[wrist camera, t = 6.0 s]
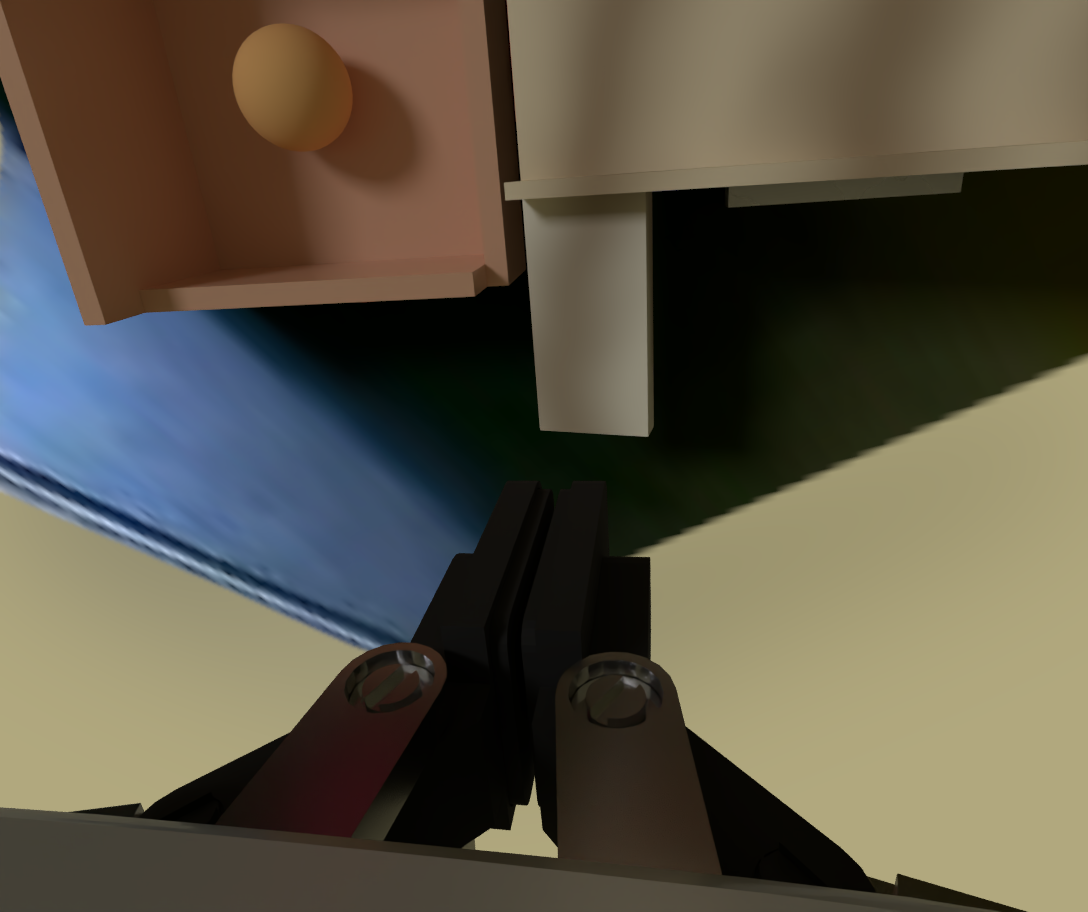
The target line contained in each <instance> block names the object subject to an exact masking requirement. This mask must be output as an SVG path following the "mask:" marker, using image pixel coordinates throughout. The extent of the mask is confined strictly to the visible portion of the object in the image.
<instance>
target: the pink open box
mask: <svg viewBox="0 0 1088 912" xmlns="http://www.w3.org/2000/svg"><path fill="white" fill-rule="evenodd" d="M280 23H286V24H294V25H298V26H302V27H304V28H307V29H309V30H311V31H313V32H314V33H316V34H318V35H319V36H320V37H322V38H323V39H324V40H325V41H326V42H328V43H329V44H330V45H331V46H332V48H333V49H334V50H335V51H336V52H337V54H338V55H339V56H340V58H341V60H342V61H343V63H344V65H345V67H346V69H347V72H348V75H349V78H350V82H351V86H352V94H353V104H352V111H351V115H350V118H349V120H348V123H347V125H346V127H345V128H344V130H343V132H342V133H341V134H340V135H339V137H338V138H337V139H335V140H334V141H333V142H332V143H330V144H329V145H327V146H325V147H323V148H321V149H318V150H314V151H307V152H299V151H291V150H287V149H284V148H281V147H278V146H276V145H274V144H272V143H271V142H269V141H267V140H266V139H265V138H263V137H262V136H261V135H260V134H259V133H258V132H256V131H255V130H254V129H253V127H252V126H251V125H250V124H249V123H248V121H247V120H246V118H245V117H244V115H243V113H242V112H241V110H240V108H239V105H238V103H237V100H236V97H235V93H234V88H233V79H232V73H233V65H234V61H235V57H236V55H237V52H238V50H239V48H240V47H241V45H242V43H243V42H244V41H245V40H246V39H247V37H249V36H250V35H251V34H252V33H253V32H255V31H257V30H258V29H260V28H262V27H265V26H267V25H272V24H280ZM0 77H1V80H2V83H3V86H4V89H5V92H6V95H7V98H8V101H9V104H10V106H11V109H12V112H13V115H14V118H15V121H16V124H17V127H18V130H19V133H20V136H21V139H22V142H23V145H24V148H25V151H26V154H27V156H28V159H29V162H30V165H31V168H32V171H33V174H34V177H35V180H36V183H37V186H38V189H39V192H40V195H41V198H42V201H43V204H44V207H45V209H46V212H47V215H48V218H49V221H50V224H51V227H52V230H53V233H54V236H55V239H56V242H57V245H58V248H59V251H60V254H61V257H62V260H63V262H64V265H65V268H66V271H67V274H68V277H69V280H70V283H71V286H72V289H73V292H74V295H75V298H76V301H77V304H78V307H79V310H80V313H81V315H82V318H83V321H84V324H85V325H106V324H109V323H113V322H116V321H119V320H123V319H126V318H129V317H132V316H136V315H139V314H142V313H147V312H168V311H188V310H208V309H229V308H249V307H270V306H290V305H311V304H331V303H351V302H372V301H392V300H413V299H433V298H453V297H474V296H476V295H477V294H479V293H480V292H481V291H482V290H484V289H485V288H486V287H488V286H508V285H510V284H511V283H512V282H513V281H514V280H515V279H516V278H517V277H518V276H520V275H521V274H522V273H523V272H524V271H525V270H526V263H525V250H524V238H523V225H522V212H521V200H505V190H504V183H506V182H515V181H519V174H518V162H517V149H516V136H515V124H514V111H513V98H512V85H511V73H510V60H509V47H508V35H507V22H506V9H505V0H0Z"/></svg>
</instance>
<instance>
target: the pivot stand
mask: <svg viewBox="0 0 1088 912" xmlns="http://www.w3.org/2000/svg"><path fill="white" fill-rule="evenodd" d="M963 174H964V172H957V173H940V174H924V175H908V176H892V177H876V178H860V179H844V180H827V181H811V182H795V183H779V184H763V185H747V186H731V187H725V206H726V207H728V208H729V207H744V206H759V205H775V204H790V203H805V202H820V201H836V200H851V199H866V198H881V197H897V196H912V195H927V194H942V193H958V192H961V187H962V180H963Z"/></svg>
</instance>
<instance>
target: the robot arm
mask: <svg viewBox="0 0 1088 912" xmlns="http://www.w3.org/2000/svg"><path fill="white" fill-rule="evenodd" d="M650 588H651V587H650V557H614V556H609V538H608V512H607V488H606V482H605V481H573V483H572V486H571V489H561V490H560V493H559V496H558V500H557V503H556V507H555V510H554V499H553V492H552V489H542V487H541V483H540V481H507V483H506V484H505V486H504V489H503V491H502V493H501V495H500V497H499V499H498V502H497V504H496V506H495V508H494V510H493V512H492V515H491V517H490V519H489V521H488V523H487V525H486V528H485V530H484V532H483V534H482V536H481V538H480V540H479V543H478V545H477V547H476V549H475V551H474V553H473V554H470V553H459V554H456V555H455V557H454V558H453V560H452V562H451V564H450V565H449V567H448V569H447V571H446V573H445V575H444V577H443V579H442V581H441V583H440V585H439V587H438V589H437V591H436V593H435V595H434V597H433V599H432V601H431V603H430V605H429V607H428V609H427V611H426V613H425V615H424V617H423V619H422V621H421V623H420V625H419V627H418V629H417V631H416V632H415V634H414V636H413V638H412V640H411V642H410V643H395V644H389V645H383V646H380V647H378V648H375V649H372V650H369V651H367V652H365V653H364V654H362V655H360V656H359V657H357V658H355V659H354V660H352V661H351V662H350V663H349V664H348V665H347V666H346V667H345V668H344V669H343V670H342V671H341V672H340V673H339V674H338V675H337V676H336V678H335V679H334V680H333V681H332V682H331V684H330V685H329V686H328V687H327V689H326V690H325V691H324V692H323V693H322V695H321V696H320V697H319V698H318V699H317V701H316V702H315V703H314V704H313V705H312V707H311V708H310V709H309V710H308V712H307V713H306V714H305V715H304V716H303V718H302V719H301V720H300V722H298V724H297V725H296V726H295V727H294V728H293V730H292V731H291V732H290V733H288V734H286V735H284V736H282V737H280V738H278V739H276V740H274V741H272V742H270V743H268V744H266V745H264V746H262V747H260V748H258V749H256V750H254V751H252V752H250V753H248V754H246V755H244V756H242V757H240V758H238V759H236V760H234V761H232V762H230V763H228V764H226V765H224V766H222V767H220V768H218V769H216V770H214V771H212V772H210V773H208V774H206V775H204V776H202V777H200V778H198V779H196V780H194V781H192V782H190V783H188V784H186V785H184V786H182V787H180V788H178V789H176V790H174V791H173V792H171V793H170V794H168V795H166V796H165V797H163V798H161V799H160V800H158V801H157V802H155V803H154V804H153V805H152V806H150V807H149V808H148V809H147V810H146V811H145V812H144V810H143V808H142V805H141V803H137V804H129V805H121V806H113V807H105V808H98V809H90V810H81V811H74V812H57V811H42V810H29V809H15V808H0V912H1026V911H1023V910H1019V909H1016V908H1013V907H1009V906H1006V905H1003V904H999V903H995V902H992V901H989V900H985V899H982V898H978V897H975V896H972V895H969V894H965V893H962V892H958V891H955V890H951V889H948V888H945V887H941V886H938V885H935V884H931V883H928V882H924V881H921V880H917V879H914V878H910V877H907V876H904V875H901V874H897V877H896V882H895V885H894V884H891V883H888V882H884V881H881V880H878V879H874V878H871V877H868V876H866V874H865V873H864V871H863V870H862V868H861V867H860V866H859V865H858V864H857V863H856V862H855V861H854V860H853V859H852V858H851V857H850V856H849V855H848V854H847V853H846V852H845V851H844V850H843V849H841V848H840V847H839V846H838V845H837V844H835V843H834V842H833V841H832V840H830V839H829V838H828V837H826V836H825V835H824V834H823V833H821V832H820V831H819V830H817V829H816V828H815V827H814V826H812V825H811V824H810V823H808V822H807V821H806V820H805V819H803V818H802V817H801V816H799V815H798V814H797V813H796V812H794V811H793V810H792V809H791V808H789V807H788V806H787V805H786V804H784V803H783V802H782V801H780V800H779V799H778V798H777V797H775V796H774V795H772V794H771V793H770V792H769V791H768V790H766V789H765V788H764V787H763V786H761V785H760V784H759V783H757V782H756V781H755V780H754V779H752V778H751V777H750V776H748V775H747V774H746V773H745V772H743V771H742V770H741V769H739V768H738V767H737V766H736V765H734V764H733V763H732V762H731V761H729V760H728V759H727V758H725V757H724V756H723V755H722V754H720V753H719V752H718V751H716V750H715V749H714V748H713V747H711V746H710V745H709V744H708V743H706V742H705V741H704V740H702V739H701V738H700V737H698V736H697V735H696V734H695V733H694V732H692V731H691V730H690V729H688V728H687V727H686V726H685V723H684V719H683V715H682V711H681V707H680V703H679V699H678V694H677V690H676V687H675V685H674V683H673V681H672V679H671V677H670V676H669V674H668V673H667V672H665V670H664V669H663V668H662V667H660V665H658V664H656V663H654V662H652V661H651V660H650V657H651V654H650V653H651V652H650V651H651V590H650ZM534 776H535V782H536V792H537V801H538V805H539V807H540V809H541V818H542V828H543V831H544V832H545V833H546V834H547V835H548V837H549V838H550V839H551V840H552V841H553V842H554V844H555V845H556V846H557V847H558V858H551V857H540V856H532V855H522V854H512V853H511V854H510V853H501V852H491V851H480V850H475V840H474V839H475V838H477V837H478V836H480V835H481V834H483V833H484V832H485V831H487V830H489V829H490V828H492V829H502V830H511V825H512V821H513V816H514V811H515V807H516V805H528V803H529V801H530V796H531V791H532V786H533V781H534Z"/></svg>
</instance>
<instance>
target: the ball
mask: <svg viewBox="0 0 1088 912" xmlns="http://www.w3.org/2000/svg"><path fill="white" fill-rule="evenodd" d="M232 79H233V88H234V93H235V97H236V100H237V103H238V105H239V108H240V110H241V112H242V113H243V115H244V117H245V118H246V120H247V121H248V123H249V124H250V125H251V126H252V127H253V129H254V130H255V131H256V132H258V133H259V134H260V135H261V136H262V137H263V138H265V139H266V140H267V141H269V142H271V143H272V144H274V145H276V146H278V147H281V148H284V149H287V150H291V151H299V152H307V151H314V150H318V149H321V148H323V147H325V146H327V145H329V144H330V143H332V142H333V141H334V140H335V139H337V138H338V137H339V135H340V134H341V133H342V132H343V130H344V128H345V127H346V125H347V123H348V120H349V118H350V115H351V111H352V104H353V94H352V86H351V82H350V78H349V75H348V72H347V69H346V67H345V65H344V63H343V61H342V60H341V58H340V56H339V55H338V54H337V52H336V51H335V50H334V49H333V48H332V46H331V45H330V44H329V43H328V42H326V41H325V40H324V39H323V38H322V37H320V36H319V35H318V34H316V33H314V32H313V31H311V30H309V29H307V28H304V27H302V26H298V25H294V24H286V23H280V24H272V25H267V26H265V27H262V28H260V29H258V30H257V31H255V32H253V33H252V34H251V35H250V36H249V37H247V39H246V40H245V41H244V42H243V43H242V45H241V47H240V48H239V50H238V52H237V55H236V57H235V61H234V65H233V73H232Z"/></svg>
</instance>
